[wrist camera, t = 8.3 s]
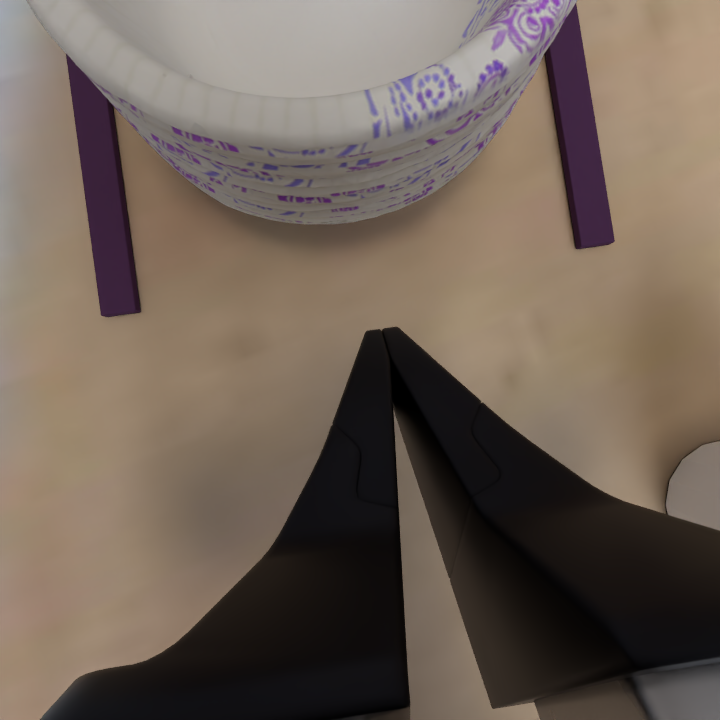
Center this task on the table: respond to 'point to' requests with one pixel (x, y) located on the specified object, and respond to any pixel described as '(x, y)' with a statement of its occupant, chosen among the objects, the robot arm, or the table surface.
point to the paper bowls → (310, 91)
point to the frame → (110, 198)
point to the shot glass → (697, 487)
